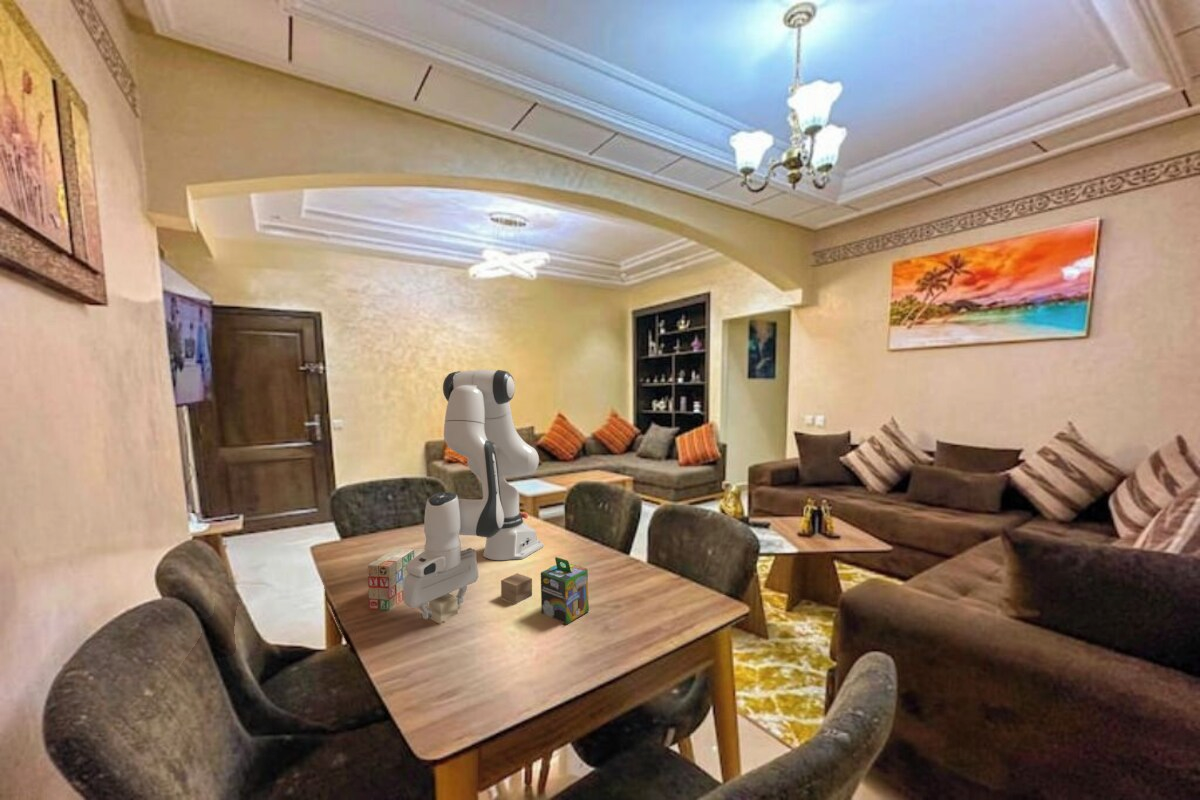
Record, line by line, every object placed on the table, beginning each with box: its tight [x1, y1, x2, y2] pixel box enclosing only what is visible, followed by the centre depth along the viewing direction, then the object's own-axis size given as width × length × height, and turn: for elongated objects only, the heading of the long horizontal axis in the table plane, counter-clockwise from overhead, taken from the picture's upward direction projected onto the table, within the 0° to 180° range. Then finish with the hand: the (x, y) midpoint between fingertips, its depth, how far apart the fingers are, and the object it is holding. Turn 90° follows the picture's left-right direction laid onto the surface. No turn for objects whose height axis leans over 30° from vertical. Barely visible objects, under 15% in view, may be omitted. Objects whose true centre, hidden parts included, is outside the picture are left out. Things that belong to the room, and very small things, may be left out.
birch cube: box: [428, 593, 459, 625], centre depth 117 cm, size 5×5×5 cm
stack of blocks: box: [367, 547, 425, 611], centre depth 132 cm, size 21×6×12 cm, turn 171°
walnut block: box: [500, 572, 533, 605], centre depth 127 cm, size 6×6×5 cm
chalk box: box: [540, 556, 590, 626], centre depth 119 cm, size 9×9×15 cm
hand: (443, 610), depth 117 cm, fingers open, 8 cm apart
